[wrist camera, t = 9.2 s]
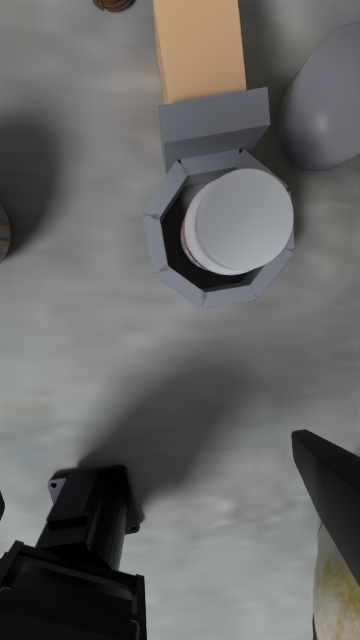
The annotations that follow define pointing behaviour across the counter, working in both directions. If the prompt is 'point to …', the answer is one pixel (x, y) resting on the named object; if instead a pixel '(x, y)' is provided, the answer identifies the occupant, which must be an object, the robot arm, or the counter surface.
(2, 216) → the vase
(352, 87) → the grey rounded lump
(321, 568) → the sugar bowl
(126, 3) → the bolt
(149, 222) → the octagonal ring stamp
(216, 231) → the pill bottle
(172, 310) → the counter surface
